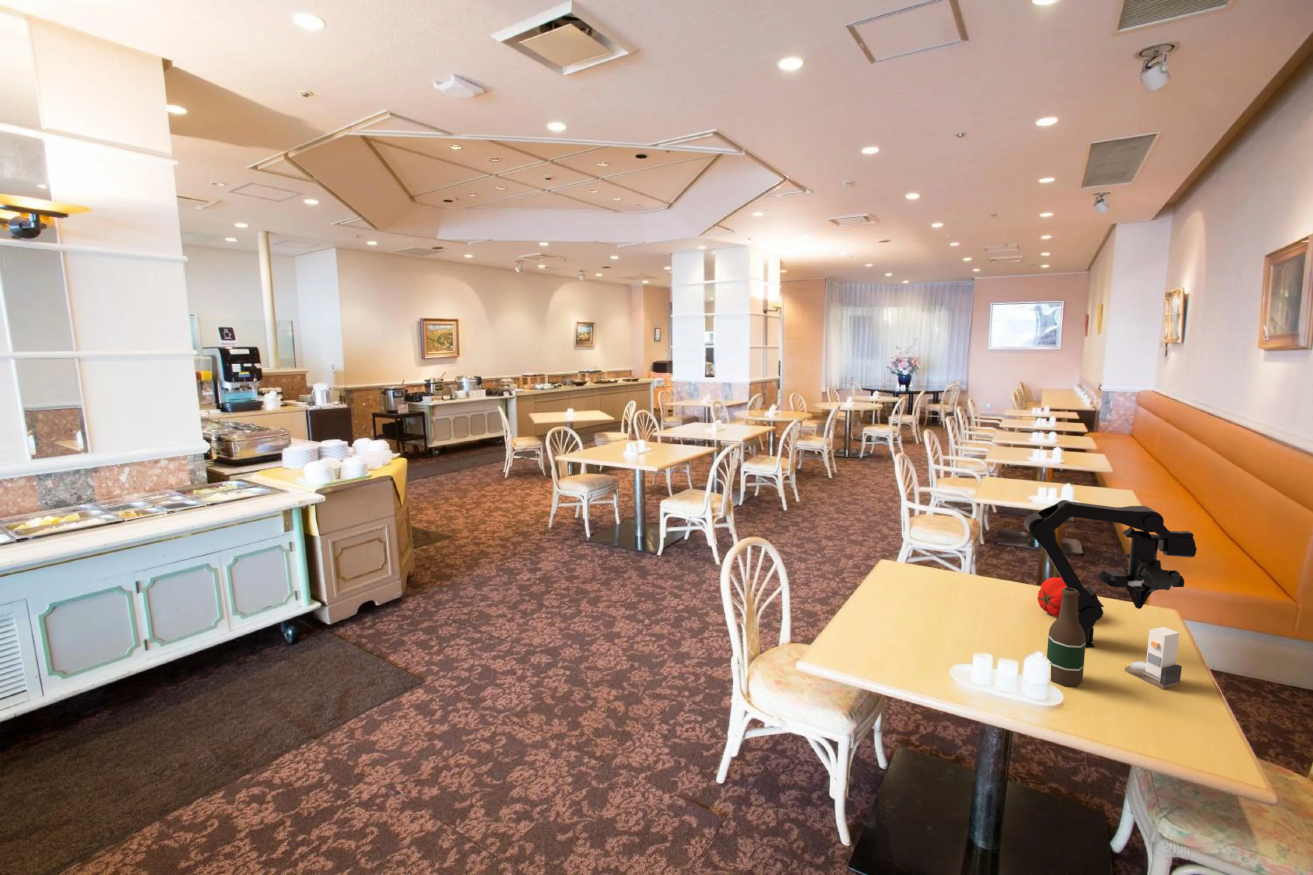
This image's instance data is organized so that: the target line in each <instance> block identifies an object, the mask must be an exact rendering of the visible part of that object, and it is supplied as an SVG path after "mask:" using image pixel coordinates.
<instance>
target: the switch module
mask: <svg viewBox="0 0 1313 875" xmlns="http://www.w3.org/2000/svg"><path fill="white" fill-rule="evenodd" d="M1148 632H1149V633H1148V640H1147V641H1148V642H1147V650H1146V651H1147V652H1146V653H1147V654H1146V660H1145V661H1146V662H1145V663H1146V670H1145V671H1147V672H1149V673H1151V674H1153V675H1155V676H1157V677H1159V678H1161V669H1162V668H1165V667H1169V666H1173V665H1177V658H1178V648H1179V647H1178V646H1179V639H1180V638H1179V637H1180V632H1178V631H1176V630H1173V629H1171V628H1168V627H1166V626H1160V627H1156V628H1151V629H1149V631H1148Z"/></svg>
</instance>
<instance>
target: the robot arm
mask: <svg viewBox="0 0 1313 875" xmlns="http://www.w3.org/2000/svg"><path fill="white" fill-rule="evenodd" d="M1070 518H1078V519H1087V520H1094V521H1101V522H1106V523H1107V522H1108V523H1115V524H1121V525H1124V526H1127V527H1129V528H1127V529H1125V530H1122V532H1121V533H1122V535H1124V537H1126V538H1129V539H1130V547H1129V548H1130V549H1129V553H1126V555H1125V557H1126V558H1127V559H1128V567H1124V572H1125V573H1127V574H1123V573H1121V572H1119V571H1117V570H1116V569H1115V570H1114V569H1113V570H1112V569H1102V570H1101V571H1100V572H1099V573H1098V580H1100V581H1101V582H1102V583H1105V584H1106V585H1108V586H1110V587H1113V588H1126V590H1127V591H1128V594H1129V595H1130V598H1131V600H1132V602H1133V604H1134V607H1135V608H1136V609H1137V610H1141V609H1142V608H1143V606H1144V605H1145V603H1146V601H1147V600H1148V598H1149V597H1150V596H1151V594H1152V593H1154V592H1155V591H1161V590H1164V591H1170V590H1171V588H1184V587H1185V578H1184V577H1183V575H1181V573H1180V572H1179V571H1178V570H1170V569H1163V568H1162V562H1161V560H1159V559H1158V551H1159V552H1162V554H1163V555H1164V556H1166V557H1167V556H1168V557H1179V558H1191V559H1192V558H1193V559H1194V557H1195V556H1196V554H1197V549H1198V548H1197V546H1196V542H1195V539H1194V533H1193V532H1192V531H1189V530H1188V531H1187V530H1184V531H1183V530H1181V531H1176V530H1169V529H1168V528H1167V527H1166V526H1165V524H1164V522H1165V520H1164V517H1163V515H1161V514H1160V513H1159V512H1158V511H1156V510H1155V509H1152V508H1151V507H1149V506H1146V505H1128V506H1121V507H1120V506H1119V507H1117V506H1108V505H1102V504H1093V503H1085V502H1077V501H1070V500H1069V499H1068V500H1067V499H1062V500H1059V501H1058V502H1056V503H1054V504H1053V505H1050V506H1047V507H1045V508H1043V509H1041V510H1039V511H1038V512H1033V513H1030V514H1029V515H1027V516H1026V517H1025V519H1024V522H1023V524H1024V526H1025V528H1026V529H1027V531H1028V532H1029V534H1030V535H1031V536H1032V537H1033V538H1034V539H1035V540H1036V542H1037V543H1038V544H1039V545H1040V546H1041V548H1043V550H1044V552H1045V554H1046V555H1047V556H1048V558H1049V561H1051V563H1052V565H1053V566H1054V568H1055V569H1056V572H1057V574H1058V575H1059V577H1060V578H1062V580H1063V582H1064V583H1065V585H1066V587H1067V588H1073V589H1076V590H1077V591H1079V594H1080V595H1079V596H1078V619H1079V623H1080V625H1081V626H1082V628H1083V629H1084V632H1085V635H1086V646H1085V648H1095V647H1096V644H1094V643H1093V642H1094V630H1095V629H1094V626H1095V624H1096V623H1097V621H1100V619H1101V618H1102V617H1103V615H1104V610H1103V608H1104V607H1105V606H1104V605H1103V604H1102V602H1101V601H1100V599H1099V598H1098V595H1097V593H1096V592H1095V591H1094V590H1093V588H1092V587H1091V586H1090V585H1088V586H1086V587H1084V586H1083V584H1082V583H1081V580H1080V579H1079V577H1078V576H1077V574H1076V573H1075V570H1074V569H1073V568H1072V566H1071V564H1070V562H1069V560H1068V559H1067V557H1066V555H1065V554H1064V552H1063V551H1062V549H1061V547H1060V546H1059V543H1058V539H1057V537H1056V533H1055V530H1057V529H1058V528H1059V527H1061V526H1062V525H1063V524H1064V523H1065V522H1066V521H1067V520H1069V519H1070ZM1153 533H1155V534H1153Z"/></svg>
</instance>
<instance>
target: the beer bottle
mask: <svg viewBox="0 0 1313 875" xmlns="http://www.w3.org/2000/svg"><path fill="white" fill-rule="evenodd" d="M1061 592H1062V593H1063V595H1062V601H1061V608H1060V613H1059V617H1057V619H1055V620H1054V622H1052V624H1051V626H1050V627H1049V630H1048V636H1047V637H1048V638H1047V648H1046V650H1047V651H1046V660H1047V659H1048V660H1049V661H1050V664H1051V680H1050V682H1051V683H1054V684H1057V685H1060V686H1063V687H1067V688H1077V687H1078V686H1079V685H1081V684H1082V682H1083V678H1084V670H1085V669H1084V667H1085V657H1086V656H1085V654H1086V647H1085V646H1086V635H1085V632H1084V629H1083V628H1082V626H1081V625H1080V623H1079V619H1078V596H1079V595H1080V594H1079V591H1077V590H1076V589H1073V588H1064V589H1062V591H1061Z"/></svg>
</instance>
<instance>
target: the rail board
mask: <svg viewBox="0 0 1313 875" xmlns="http://www.w3.org/2000/svg"><path fill="white" fill-rule="evenodd" d="M1145 670H1146V662H1144V661H1143V660H1138V661H1134V662H1130V665H1129V666H1125V667H1124V672H1126V673H1128V674H1130V675H1132V676H1134V677H1137V678H1138V679H1141V680H1143V681H1145V682H1147V683H1149V684H1151V685H1153V686H1154V687H1158V688H1160V689H1161V690H1166V689H1170V688H1173V687H1177V686H1181V685H1182V684H1181V682H1182V681H1181V677H1182V665H1179V664H1178V663H1176V665H1173V666H1169V667H1165V668H1162V669H1161V678H1159V677H1157V676H1155V675H1153V674H1151V673H1149V672H1147V671H1145Z"/></svg>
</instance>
